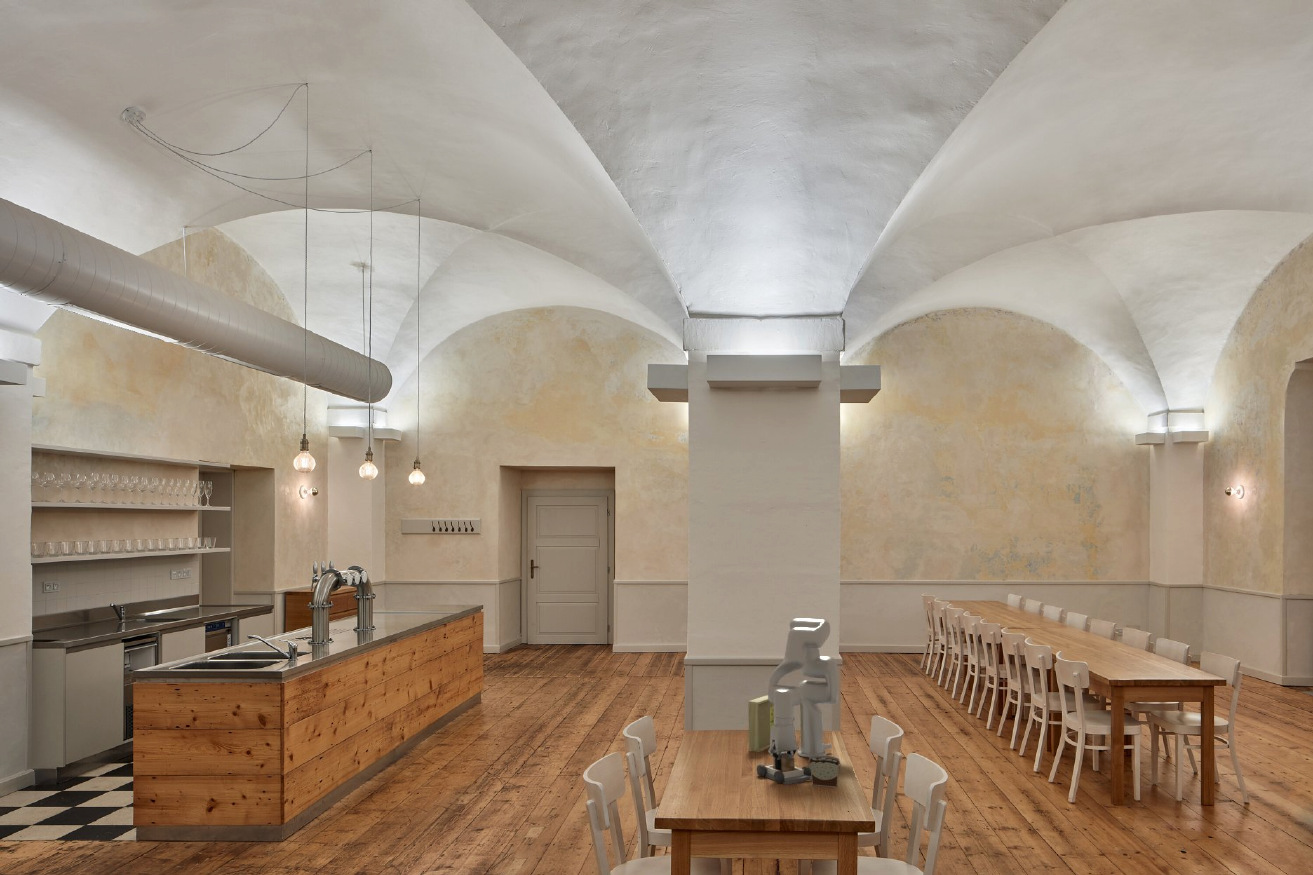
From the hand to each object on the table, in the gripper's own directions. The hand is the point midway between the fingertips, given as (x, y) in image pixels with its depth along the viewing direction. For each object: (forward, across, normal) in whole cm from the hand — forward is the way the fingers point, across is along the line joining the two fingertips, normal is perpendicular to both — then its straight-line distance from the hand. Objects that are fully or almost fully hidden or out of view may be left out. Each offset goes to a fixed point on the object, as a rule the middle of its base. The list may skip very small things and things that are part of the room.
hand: (783, 767), depth 366 cm
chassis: (+3, 0, 0) cm, 3 cm away
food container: (+4, -8, +16) cm, 18 cm away
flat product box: (+4, -32, -48) cm, 57 cm away
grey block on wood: (+1, 0, 0) cm, 1 cm away
